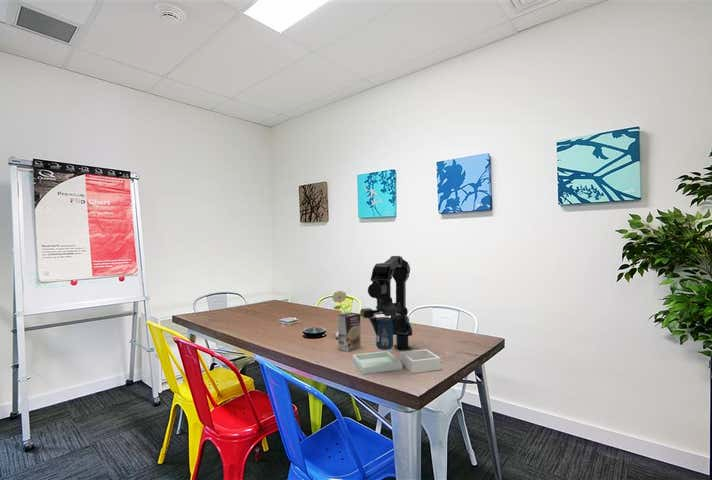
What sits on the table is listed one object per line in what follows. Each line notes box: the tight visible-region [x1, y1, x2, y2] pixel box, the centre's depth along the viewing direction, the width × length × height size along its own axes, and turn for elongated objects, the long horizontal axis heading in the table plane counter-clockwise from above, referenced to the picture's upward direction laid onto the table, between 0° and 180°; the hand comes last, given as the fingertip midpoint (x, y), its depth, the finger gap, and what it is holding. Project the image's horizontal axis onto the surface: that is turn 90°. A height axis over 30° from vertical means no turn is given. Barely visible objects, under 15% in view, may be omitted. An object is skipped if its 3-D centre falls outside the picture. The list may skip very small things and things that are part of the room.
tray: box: [352, 350, 403, 375], centre depth 139 cm, size 16×16×2 cm
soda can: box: [375, 316, 394, 351], centre depth 138 cm, size 7×7×12 cm
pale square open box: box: [399, 348, 442, 374], centre depth 136 cm, size 12×12×4 cm
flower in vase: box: [331, 290, 351, 338], centre depth 181 cm, size 13×11×25 cm
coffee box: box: [337, 312, 362, 352], centre depth 162 cm, size 9×6×16 cm
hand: (384, 333), depth 138 cm, fingers closed on soda can, 7 cm apart
